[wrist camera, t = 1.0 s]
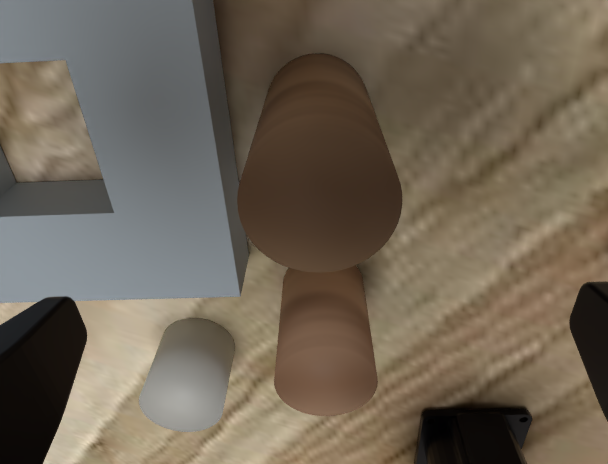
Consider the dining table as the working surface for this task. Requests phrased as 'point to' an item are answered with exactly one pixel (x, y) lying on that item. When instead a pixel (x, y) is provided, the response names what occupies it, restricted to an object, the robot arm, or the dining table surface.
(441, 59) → the dining table surface
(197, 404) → the short dowel
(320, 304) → the medium dowel
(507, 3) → the dining table surface
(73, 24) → the grey square frame
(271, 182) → the long dowel
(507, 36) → the dining table surface
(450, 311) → the dining table surface
